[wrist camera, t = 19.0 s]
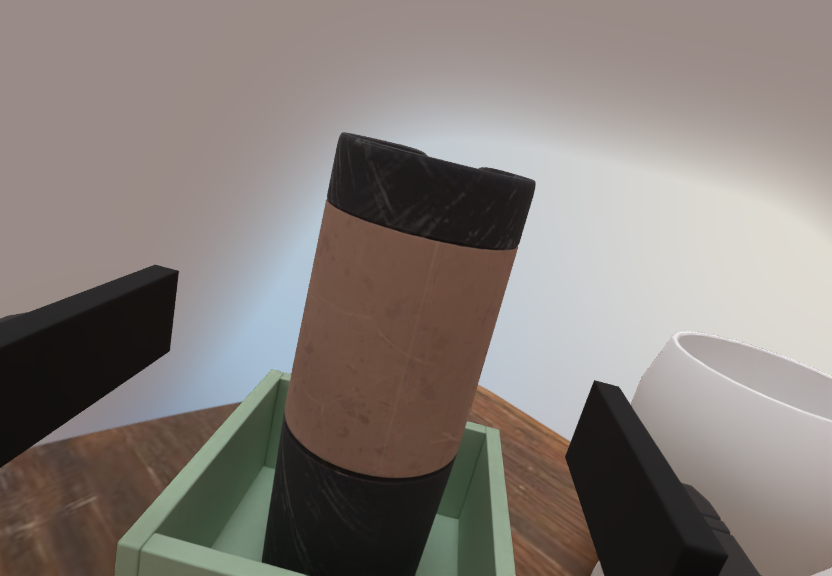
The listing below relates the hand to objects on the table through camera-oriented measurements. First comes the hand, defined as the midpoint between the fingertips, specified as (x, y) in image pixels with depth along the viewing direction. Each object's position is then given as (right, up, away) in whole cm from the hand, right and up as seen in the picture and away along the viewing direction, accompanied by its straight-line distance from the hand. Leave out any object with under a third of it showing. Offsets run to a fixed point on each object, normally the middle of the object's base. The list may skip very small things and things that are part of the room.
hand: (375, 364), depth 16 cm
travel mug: (-3, -12, +9) cm, 15 cm away
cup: (+14, -16, +12) cm, 25 cm away
